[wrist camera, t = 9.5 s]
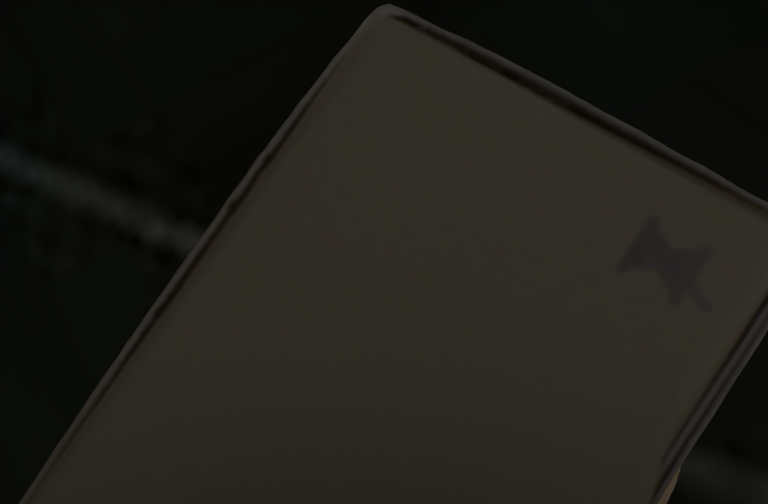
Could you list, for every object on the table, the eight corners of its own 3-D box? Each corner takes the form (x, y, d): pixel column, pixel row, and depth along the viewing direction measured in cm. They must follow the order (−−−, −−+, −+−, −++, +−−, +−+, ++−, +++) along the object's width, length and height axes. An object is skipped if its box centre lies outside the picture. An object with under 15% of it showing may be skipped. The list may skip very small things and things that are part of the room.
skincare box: (466, 250, 18) (392, -48, 6) (608, 342, 16) (870, 198, 5) (329, 448, 17) (-51, 550, 5) (465, 557, 16) (360, 995, 4)
